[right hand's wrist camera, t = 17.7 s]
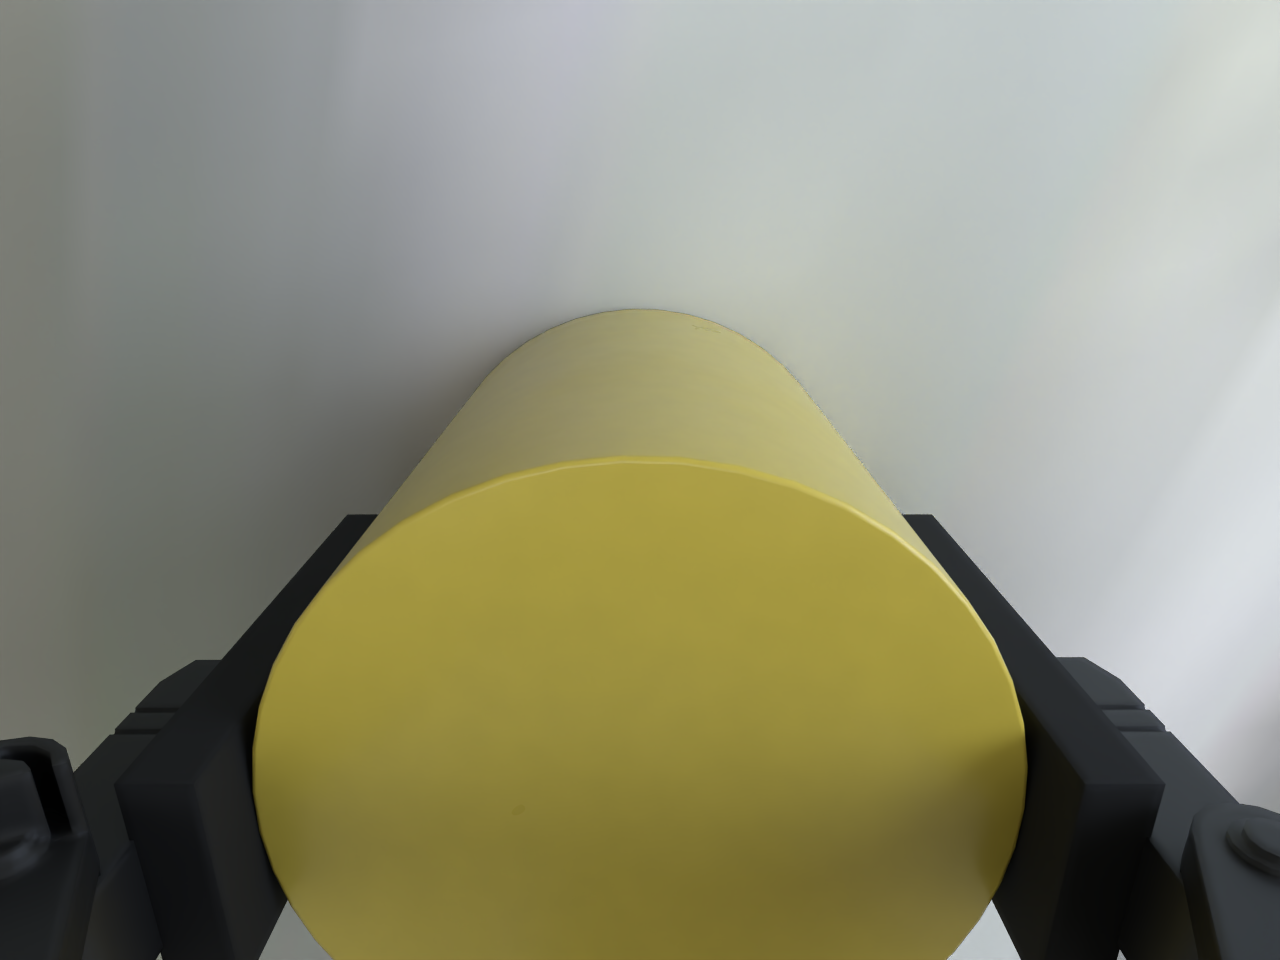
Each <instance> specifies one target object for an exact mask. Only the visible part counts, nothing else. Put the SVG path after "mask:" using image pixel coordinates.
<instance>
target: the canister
mask: <svg viewBox="0 0 1280 960" xmlns="http://www.w3.org/2000/svg"><path fill="white" fill-rule="evenodd" d="M252 769H253V797H254V802H255V808H256V814H257V820H258V825H259V831H260V835H261V838H262V841H263V843H264V846H265V849H266V852H267V855H268V858H269V861H270V864H271V867H272V870H273V872H274V874H275V876H276V878H277V880H278V882H279V884H280V886H281V887H282V889H283V891H284V893H285V895H286V897H287V899H288V901H289V903H290V905H291V907H292V908H293V909H294V911H295V912H296V914H297V915H298V917H299V918H300V919H301V921H302V922H303V924H304V925H305V926H306V928H307V929H308V931H309V932H310V934H311V935H312V936H313V938H314V939H315V940H316V941H317V942H318V944H319V945H320V946H321V947H322V948H323V949H324V950H325V951H326V952H327V953H328V954H329V955H330V957H331V958H332V959H333V960H946V959H947V958H948V957H949V956H950V955H951V954H953V953H954V952H955V950H956V949H957V948H958V946H959V945H960V944H961V943H962V941H963V940H964V939H965V938H966V936H967V935H968V934H969V932H970V931H971V930H972V929H973V927H974V926H975V925H976V924H977V922H978V921H979V920H980V918H981V916H982V915H983V913H984V911H985V910H986V908H987V906H988V905H989V903H990V901H991V899H992V898H993V896H994V894H995V893H996V891H997V889H998V888H999V886H1000V884H1001V881H1002V879H1003V876H1004V874H1005V872H1006V869H1007V867H1008V864H1009V862H1010V859H1011V857H1012V854H1013V852H1014V850H1015V847H1016V843H1017V838H1018V834H1019V830H1020V826H1021V822H1022V817H1023V813H1024V809H1025V797H1026V783H1027V770H1028V763H1027V753H1026V742H1025V731H1024V722H1023V718H1022V714H1021V710H1020V706H1019V703H1018V699H1017V695H1016V691H1015V688H1014V684H1013V680H1012V678H1011V676H1010V674H1009V671H1008V669H1007V667H1006V665H1005V662H1004V660H1003V658H1002V656H1001V654H1000V651H999V649H998V647H997V645H996V643H995V640H994V639H993V637H992V636H991V634H990V633H989V631H988V630H987V628H986V626H985V625H984V623H983V622H982V620H981V619H980V617H979V616H978V614H977V613H976V611H975V610H974V608H973V607H972V605H971V604H970V602H969V601H968V599H967V598H966V597H965V596H964V594H963V593H962V592H961V590H960V589H959V588H958V587H957V585H956V584H955V583H954V581H953V580H952V579H951V578H950V576H949V575H948V574H947V572H946V571H945V570H944V569H943V567H942V566H941V565H940V564H939V562H938V561H937V560H936V558H935V557H934V556H933V555H932V553H931V552H930V551H929V549H928V548H927V547H926V546H925V544H924V543H923V542H922V540H921V539H920V538H919V537H918V535H917V534H916V533H915V531H914V530H913V529H912V528H911V526H910V525H909V524H908V522H907V521H906V520H905V519H904V517H903V516H902V515H901V513H900V512H899V511H898V510H897V508H896V507H895V506H894V504H893V503H892V502H891V501H890V499H889V498H888V497H887V495H886V494H885V493H884V492H883V490H882V489H881V488H880V486H879V485H878V484H877V483H876V481H875V480H874V479H873V477H872V476H871V475H870V474H869V472H868V471H867V470H866V468H865V467H864V466H863V465H862V463H861V462H860V461H859V460H858V458H857V457H856V456H855V454H854V453H853V452H852V451H851V449H850V448H849V447H848V445H847V444H846V443H845V442H844V440H843V439H842V438H841V436H840V435H839V434H838V433H837V431H836V430H835V429H834V427H833V426H832V425H831V424H830V422H829V421H828V420H827V418H826V417H825V416H824V415H823V413H822V412H821V411H820V409H819V408H818V407H817V406H816V404H815V403H814V402H813V400H812V399H811V398H810V397H809V395H808V394H807V393H806V391H805V390H804V389H803V388H802V386H801V385H800V384H799V383H798V382H797V381H796V379H795V378H794V377H793V376H792V375H791V374H790V373H789V372H788V371H787V370H786V368H785V367H784V366H783V365H782V364H781V363H779V362H778V361H777V360H776V359H775V358H773V357H772V356H771V355H770V354H769V353H767V352H766V351H765V350H764V349H763V348H761V347H760V346H758V345H756V344H755V343H753V342H752V341H750V340H748V339H747V338H745V337H744V336H742V335H740V334H739V333H736V332H734V331H732V330H730V329H728V328H725V327H723V326H721V325H719V324H717V323H714V322H711V321H708V320H705V319H701V318H698V317H695V316H691V315H688V314H682V313H676V312H670V311H663V310H644V309H628V310H619V311H610V312H602V313H598V314H594V315H590V316H586V317H581V318H577V319H574V320H572V321H569V322H567V323H564V324H562V325H559V326H556V327H554V328H551V329H549V330H547V331H546V332H544V333H542V334H540V335H538V336H537V337H535V338H533V339H531V340H529V341H528V342H526V343H525V344H523V345H522V346H521V347H519V348H518V349H517V350H515V351H514V352H513V353H511V354H510V355H509V356H507V357H506V358H505V359H504V360H503V361H502V362H501V363H500V364H499V365H498V366H497V367H496V368H495V369H494V370H493V371H492V372H491V373H490V374H489V375H488V376H487V377H486V378H485V379H484V380H483V381H482V383H481V384H480V385H479V387H478V388H477V389H476V390H475V392H474V393H473V394H472V396H471V397H470V398H469V399H468V401H467V402H466V403H465V405H464V406H463V407H462V408H461V410H460V411H459V412H458V414H457V415H456V416H455V417H454V419H453V420H452V421H451V423H450V424H449V425H448V426H447V428H446V429H445V430H444V431H443V433H442V434H441V435H440V437H439V438H438V439H437V440H436V442H435V443H434V444H433V446H432V447H431V448H430V449H429V451H428V452H427V453H426V455H425V456H424V457H423V458H422V460H421V461H420V462H419V464H418V465H417V466H416V467H415V469H414V470H413V471H412V472H411V474H410V475H409V476H408V478H407V479H406V480H405V481H404V483H403V484H402V485H401V487H400V488H399V489H398V490H397V492H396V493H395V494H394V496H393V497H392V498H391V499H390V501H389V502H388V503H387V505H386V506H385V507H384V508H383V510H382V511H381V512H380V513H379V515H378V516H377V517H376V519H375V520H374V521H373V522H372V524H371V525H370V526H369V528H368V529H367V530H366V531H365V533H364V534H363V535H362V537H361V538H360V539H359V540H358V542H357V543H356V544H355V546H354V547H353V548H352V549H351V551H350V552H349V553H348V554H347V556H346V557H345V558H344V560H343V561H342V562H341V563H340V565H339V566H338V567H337V569H336V570H335V571H334V572H333V574H332V575H331V576H330V578H329V579H328V580H327V581H326V583H325V584H324V585H323V587H322V588H321V589H320V591H319V592H318V593H317V595H316V596H315V597H314V599H313V600H312V601H311V602H310V604H309V605H308V606H307V608H306V609H305V610H304V612H303V613H302V614H301V616H300V617H299V618H298V620H297V621H296V622H295V624H294V626H293V627H292V629H291V631H290V633H289V635H288V637H287V639H286V641H285V643H284V644H283V646H282V648H281V650H280V652H279V654H278V656H277V658H276V660H275V661H274V663H273V666H272V669H271V672H270V675H269V678H268V681H267V684H266V687H265V690H264V693H263V696H262V699H261V702H260V705H259V709H258V716H257V722H256V728H255V735H254V741H253V747H252Z"/></svg>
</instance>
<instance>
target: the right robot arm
mask: <svg viewBox="0 0 1280 960" xmlns="http://www.w3.org/2000/svg"><path fill="white" fill-rule="evenodd" d="M377 516H378V515H347V516H346V517H345V518H344V519H343V520H342V522H341V523H340V524H339V525H338V526H337V527H336V529H335V530H334V531H333V532H332V533H331V534H330V535H329V537H328V538H327V539H326V540H325V541H324V542H323V544H322V545H321V546H320V547H319V548H318V549H317V550H316V552H315V553H314V554H313V555H312V556H311V557H310V558H309V560H308V561H307V562H306V563H305V564H304V565H303V567H302V568H301V569H300V570H299V571H298V572H297V573H296V575H295V576H294V577H293V578H292V579H291V580H290V582H289V583H288V584H287V585H286V586H285V587H284V588H283V590H282V591H281V592H280V593H279V594H278V595H277V596H276V598H275V599H274V600H273V601H272V602H271V603H270V605H269V606H268V607H267V608H266V609H265V610H264V611H263V613H262V614H261V615H260V616H259V617H258V618H257V620H256V621H255V622H254V623H253V624H252V625H251V626H250V628H249V629H248V630H247V631H246V632H245V633H244V634H243V636H242V637H241V638H240V639H239V640H238V641H237V643H236V644H235V645H234V646H233V647H232V648H231V649H230V651H229V652H228V653H227V654H226V655H225V656H224V658H223V659H222V660H195V661H194V662H192V663H190V664H189V665H187V666H185V667H184V668H182V669H180V670H179V671H177V672H176V673H174V674H172V675H171V676H169V677H167V678H166V679H164V680H162V681H161V682H159V684H158V685H157V686H156V687H155V688H154V689H153V690H152V691H151V692H150V693H149V694H148V695H147V696H146V697H145V698H144V699H143V700H142V701H141V702H140V703H139V705H138V706H137V707H136V710H135V713H130V714H129V715H128V716H127V717H126V718H125V719H124V720H123V721H122V722H121V723H120V724H119V726H118V727H117V728H116V729H115V734H114V735H109V736H108V737H107V738H106V739H105V740H104V741H103V742H102V743H101V744H100V745H99V747H98V748H97V749H96V750H95V751H94V752H93V753H92V754H91V755H90V756H89V757H88V758H87V759H86V760H85V761H84V762H83V763H82V764H81V765H80V766H79V768H78V769H77V770H76V771H75V772H74V773H73V770H72V767H71V763H70V760H69V757H68V753H67V750H66V748H65V747H63V746H62V745H61V744H59V743H58V742H56V741H55V740H53V739H46V738H37V737H23V738H16V739H8V740H1V741H0V960H156V958H157V957H158V955H159V953H160V952H161V956H162V959H163V960H258V959H259V957H260V955H261V953H262V951H263V949H264V947H265V945H266V943H267V941H268V939H269V937H270V935H271V933H272V931H273V929H274V927H275V925H276V922H277V920H278V918H279V916H280V914H281V912H282V910H283V908H284V906H285V904H286V902H287V900H288V899H287V897H286V895H285V893H284V891H283V889H282V887H281V886H280V884H279V882H278V880H277V878H276V876H275V874H274V872H273V870H272V867H271V864H270V861H269V858H268V855H267V852H266V849H265V846H264V843H263V841H262V838H261V835H260V831H259V825H258V820H257V814H256V808H255V802H254V797H253V769H252V747H253V741H254V735H255V728H256V722H257V716H258V709H259V705H260V702H261V699H262V696H263V693H264V690H265V687H266V684H267V681H268V678H269V675H270V672H271V669H272V666H273V663H274V661H275V660H276V658H277V656H278V654H279V652H280V650H281V648H282V646H283V644H284V643H285V641H286V639H287V637H288V635H289V633H290V631H291V629H292V627H293V626H294V624H295V622H296V621H297V620H298V618H299V617H300V616H301V614H302V613H303V612H304V610H305V609H306V608H307V606H308V605H309V604H310V602H311V601H312V600H313V599H314V597H315V596H316V595H317V593H318V592H319V591H320V589H321V588H322V587H323V585H324V584H325V583H326V581H327V580H328V579H329V578H330V576H331V575H332V574H333V572H334V571H335V570H336V569H337V567H338V566H339V565H340V563H341V562H342V561H343V560H344V558H345V557H346V556H347V554H348V553H349V552H350V551H351V549H352V548H353V547H354V546H355V544H356V543H357V542H358V540H359V539H360V538H361V537H362V535H363V534H364V533H365V531H366V530H367V529H368V528H369V526H370V525H371V524H372V522H373V521H374V520H375V519H376V517H377ZM902 516H903V517H904V519H905V520H906V521H907V522H908V524H909V525H910V526H911V528H912V529H913V530H914V531H915V533H916V534H917V535H918V537H919V538H920V539H921V540H922V542H923V543H924V544H925V546H926V547H927V548H928V549H929V551H930V552H931V553H932V555H933V556H934V557H935V558H936V560H937V561H938V562H939V564H940V565H941V566H942V567H943V569H944V570H945V571H946V572H947V574H948V575H949V576H950V578H951V579H952V580H953V581H954V583H955V584H956V585H957V587H958V588H959V589H960V590H961V592H962V593H963V594H964V596H965V597H966V598H967V599H968V601H969V602H970V604H971V605H972V607H973V608H974V610H975V611H976V613H977V614H978V616H979V617H980V619H981V620H982V622H983V623H984V625H985V626H986V628H987V630H988V631H989V633H990V634H991V636H992V637H993V639H994V640H995V643H996V645H997V647H998V649H999V651H1000V654H1001V656H1002V658H1003V660H1004V662H1005V665H1006V667H1007V669H1008V671H1009V674H1010V676H1011V678H1012V680H1013V684H1014V688H1015V691H1016V695H1017V699H1018V703H1019V706H1020V710H1021V714H1022V718H1023V722H1024V731H1025V742H1026V753H1027V763H1028V770H1027V783H1026V797H1025V809H1024V813H1023V817H1022V822H1021V826H1020V830H1019V834H1018V838H1017V843H1016V847H1015V850H1014V852H1013V854H1012V857H1011V859H1010V862H1009V864H1008V867H1007V869H1006V872H1005V874H1004V876H1003V879H1002V881H1001V884H1000V886H999V888H998V889H997V891H996V893H995V894H994V896H993V898H992V901H993V903H994V905H995V907H996V909H997V911H998V913H999V915H1000V917H1001V919H1002V921H1003V924H1004V926H1005V928H1006V930H1007V932H1008V934H1009V936H1010V938H1011V940H1012V942H1013V944H1014V946H1015V948H1016V950H1017V952H1018V954H1019V956H1020V958H1021V960H1117V957H1118V953H1119V950H1121V952H1122V953H1123V955H1124V957H1125V958H1126V960H1280V814H1278V813H1275V812H1272V811H1269V810H1267V809H1264V808H1261V807H1258V806H1251V805H1244V804H1239V803H1238V802H1237V801H1236V800H1235V799H1234V798H1233V796H1232V795H1231V794H1230V793H1229V792H1228V791H1227V790H1226V789H1225V788H1224V787H1223V786H1222V785H1221V784H1220V783H1219V782H1218V781H1217V780H1216V779H1215V778H1214V777H1213V776H1212V775H1211V774H1210V773H1209V771H1208V770H1207V769H1206V768H1205V767H1204V766H1203V765H1202V764H1201V763H1200V762H1199V761H1198V760H1197V759H1196V758H1195V757H1194V756H1193V755H1192V754H1191V753H1190V752H1189V751H1188V750H1187V749H1186V747H1185V746H1184V745H1183V744H1182V743H1181V742H1180V741H1179V740H1178V739H1177V738H1176V737H1175V736H1174V735H1173V734H1172V733H1171V732H1166V731H1165V726H1164V725H1163V723H1162V722H1161V721H1160V720H1159V719H1158V718H1157V717H1156V716H1155V715H1154V714H1153V713H1152V712H1151V711H1150V710H1145V707H1144V706H1145V705H1144V704H1143V703H1142V702H1141V701H1140V699H1139V698H1138V697H1137V696H1136V695H1135V694H1134V693H1133V692H1132V691H1131V690H1130V689H1129V688H1128V687H1127V686H1126V685H1125V684H1124V683H1123V682H1122V681H1121V680H1120V679H1119V678H1117V677H1116V676H1114V675H1112V674H1111V673H1109V672H1107V671H1106V670H1104V669H1102V668H1101V667H1099V666H1097V665H1096V664H1094V663H1092V662H1091V661H1089V660H1088V659H1086V658H1084V657H1055V656H1054V655H1053V654H1052V652H1051V651H1050V650H1049V649H1048V648H1047V647H1046V645H1045V644H1044V643H1043V642H1042V641H1041V640H1040V639H1039V637H1038V636H1037V635H1036V634H1035V633H1034V632H1033V631H1032V629H1031V628H1030V627H1029V626H1028V625H1027V624H1026V622H1025V621H1024V620H1023V619H1022V618H1021V617H1020V616H1019V614H1018V613H1017V612H1016V611H1015V610H1014V609H1013V607H1012V606H1011V605H1010V604H1009V603H1008V602H1007V601H1006V599H1005V598H1004V597H1003V596H1002V595H1001V594H1000V593H999V591H998V590H997V589H996V588H995V587H994V586H993V584H992V583H991V582H990V581H989V580H988V579H987V578H986V576H985V575H984V574H983V573H982V572H981V571H980V569H979V568H978V567H977V566H976V565H975V564H974V563H973V561H972V560H971V559H970V558H969V557H968V556H967V554H966V553H965V552H964V551H963V550H962V549H961V548H960V546H959V545H958V544H957V543H956V542H955V541H954V540H953V538H952V537H951V536H950V535H949V534H948V533H947V531H946V530H945V529H944V528H943V527H942V526H941V525H940V523H939V522H938V521H937V520H936V519H935V518H934V516H933V515H902Z"/></svg>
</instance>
